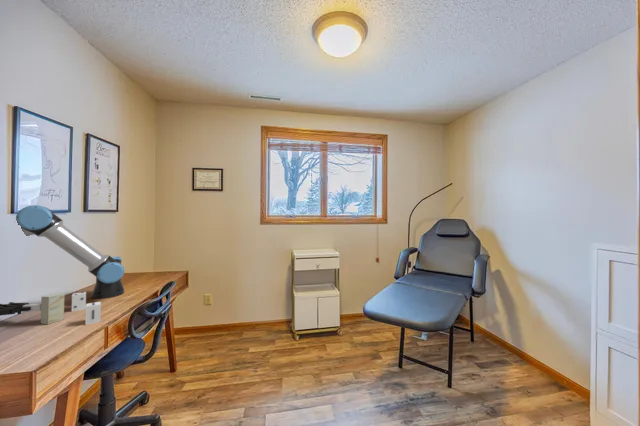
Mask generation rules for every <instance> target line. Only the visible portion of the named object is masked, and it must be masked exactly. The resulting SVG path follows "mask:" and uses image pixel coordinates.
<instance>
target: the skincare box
mask: <svg viewBox="0 0 640 426" xmlns="http://www.w3.org/2000/svg"><path fill="white" fill-rule="evenodd" d="M65 294H66V293H64V292H56V293H52V294H46V295H42V296H41V303H40V304H41V311H40V324H41V325H42V324H43V325H50V324H53V323H56V322H60V321H62V320H64V317H65Z"/></svg>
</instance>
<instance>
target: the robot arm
mask: <svg viewBox="0 0 640 426" xmlns="http://www.w3.org/2000/svg"><path fill="white" fill-rule="evenodd" d="M16 221H17V223H18V225H20V226H21V229H22V231H23V232H24V234H25V235H26V236H30V235H31V236H34V235H35V236H37V237H38V238H39V237H40V238H41V237H42V238H46V239H48V240H49V241H51V243H54V245H56V246H57V247H59V248H60V249H62V250H63V251H65V252H66V253H67V254H69V255H70V256H72V257H73V258H75V259H76V260H77V261H79V262H81V263H82V264H84V265H85V266H86V267H87V268H88V272H89V273H90V274H92V275H93V276H94V277H95V285H94V288H93V290H92V292H91V298H92V299H106V298H113V297H117V296H120V295H122V294H124V293H125V288H124V285H123V283H122V278H123V277H124V273H125V267H124V265H123V264H122V260H123V259H122V257H121V256H111V255H109V254H103V253H101V251H99V250H97V249H96V248H95V247H93V246H92V245H91V244H89V243H88V242H87V241H85V240H84V239H83V238H81V237H80V236H79V235H78V234H76V233H75V232H74V231H72V230H70V229H69V228H68V227H66V226H65V225H64V220H62V218H60V217H59V216H58V215H57V214H55V213H54V212H53V211H52V210H51V209H49V208H48V207H45V206H43V205H38V204H36V205H35V204H34V205H28V206H25V207H22V208H21V209H20V210H19V211H17V213H16V215H15V222H16ZM31 236H30V237H31ZM26 312H27V313H28V312H29V313H30V312H41V303H34V304H33V303H31V304H29V302H13V301H12V302H11V301H10V302H8V303H3V304H2V303H0V316H10V315H15V314H17V315H21V314H22V313H26Z"/></svg>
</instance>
